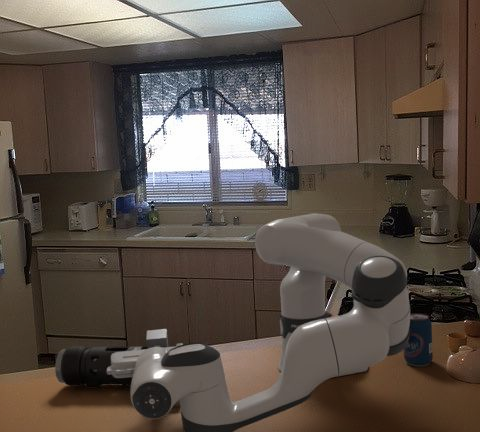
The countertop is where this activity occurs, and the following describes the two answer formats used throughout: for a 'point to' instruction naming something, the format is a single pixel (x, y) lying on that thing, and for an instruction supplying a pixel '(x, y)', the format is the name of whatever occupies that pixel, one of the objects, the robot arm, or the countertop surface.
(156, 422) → the countertop surface
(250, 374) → the countertop surface
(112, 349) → the muzzle brake
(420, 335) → the soda can
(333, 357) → the robot arm
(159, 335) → the charger
